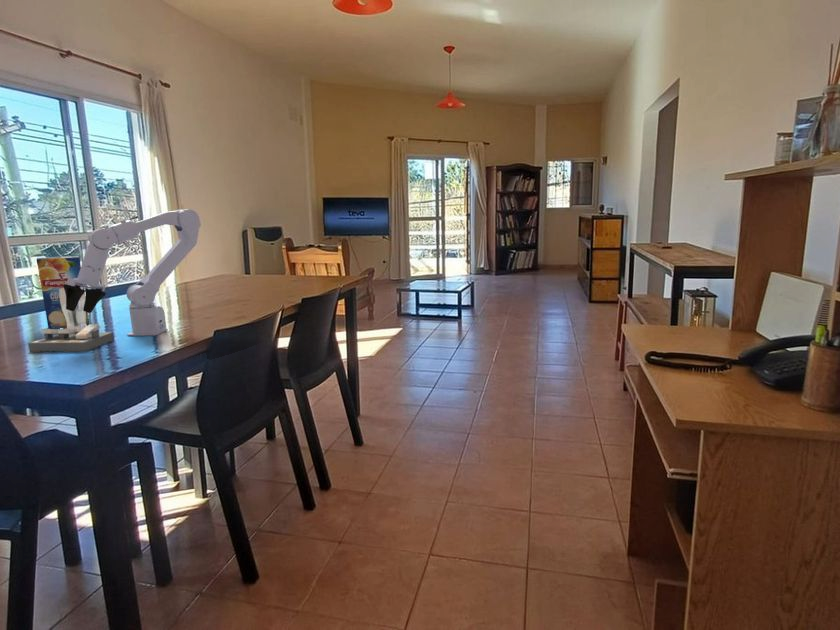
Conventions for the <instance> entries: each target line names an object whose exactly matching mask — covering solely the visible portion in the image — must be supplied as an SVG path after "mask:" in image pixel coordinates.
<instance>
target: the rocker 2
mask: <svg viewBox="0 0 840 630" xmlns="http://www.w3.org/2000/svg"><path fill="white" fill-rule="evenodd" d="M100 328H101V326H100V324H99V323H89V325H88V326H87V327H85V328H84V329H83V330H81V331H80V332H79V333H78V334H76V335H75V336H76V339H86V338H88V337H89V336H90V335H91V331H94V330H98V331H99V329H100Z"/></svg>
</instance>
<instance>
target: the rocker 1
mask: <svg viewBox="0 0 840 630" xmlns="http://www.w3.org/2000/svg"><path fill="white" fill-rule="evenodd" d="M40 333H41V334H43V335H45V334H53V335H55V334H58V329H48V328H42V329H41V331H40Z"/></svg>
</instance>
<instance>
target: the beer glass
mask: <svg viewBox="0 0 840 630" xmlns="http://www.w3.org/2000/svg"><path fill="white" fill-rule="evenodd" d="M80 288H81V289H83V287H80ZM59 298H60V304H61V308H62V311H63V314H64V316H65V319H66V323H67V328H66V329H77V330H83V329H84V328H85V327H87V324H86V319H85V317H86V312H85V311H83V309H84V303H85V298H86V293H85V294H83V295H82V297H81V298H80V300H79V302H78V304H77V307H76V309H75V310H74V311H70V310H67V309H66V294H65V290H64V287H63V288H59Z"/></svg>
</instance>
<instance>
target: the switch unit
mask: <svg viewBox="0 0 840 630" xmlns="http://www.w3.org/2000/svg"><path fill="white" fill-rule="evenodd" d="M80 331H81V330H78V331H75V334H63V333H58V334H44V338H40V339H37V340H35V341H31V342H29V343H27V344H28V351H29V352H30V353H34V352H35V353H41V352H40V351H63V352H88V351H90V350H92V348H93V349H95V348H97V346H98V347H100V346H103V345H104V344H107V343H110V342H112V341H115V334H114V331H104V332H103V331H102V332H101V331H99V329H98V330H94V331H91V335H90V336H89V337H88V338H86V339H76V336H75V335H76V334H78V333H79V332H80ZM102 344H103V345H102ZM99 345H100V346H99Z"/></svg>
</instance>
